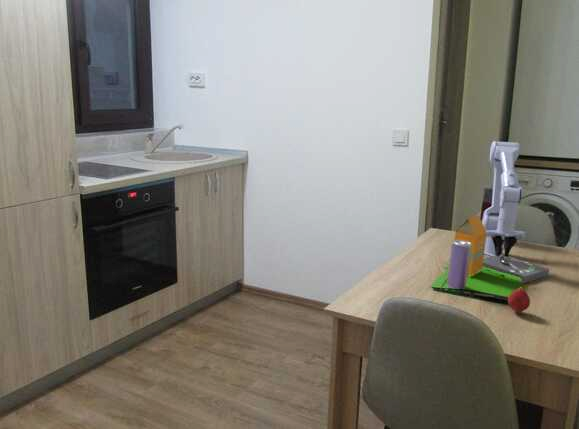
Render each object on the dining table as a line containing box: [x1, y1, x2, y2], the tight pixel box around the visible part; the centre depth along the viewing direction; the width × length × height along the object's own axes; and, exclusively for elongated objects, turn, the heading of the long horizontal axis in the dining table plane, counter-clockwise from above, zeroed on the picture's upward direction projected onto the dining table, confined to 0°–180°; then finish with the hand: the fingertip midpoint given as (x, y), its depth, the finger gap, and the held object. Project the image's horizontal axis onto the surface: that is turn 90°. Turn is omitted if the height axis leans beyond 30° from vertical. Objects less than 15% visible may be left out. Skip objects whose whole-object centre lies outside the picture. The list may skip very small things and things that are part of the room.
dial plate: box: [482, 255, 550, 284], centre depth 189 cm, size 19×16×3 cm
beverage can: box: [446, 239, 472, 291], centre depth 169 cm, size 6×6×15 cm
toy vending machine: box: [479, 183, 494, 221], centre depth 226 cm, size 9×11×28 cm
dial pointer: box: [499, 246, 518, 270], centre depth 188 cm, size 14×4×4 cm, turn 1°
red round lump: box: [507, 286, 531, 314], centre depth 152 cm, size 6×6×8 cm
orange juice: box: [454, 215, 487, 275], centre depth 184 cm, size 8×9×20 cm
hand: (501, 255), depth 193 cm, fingers closed
